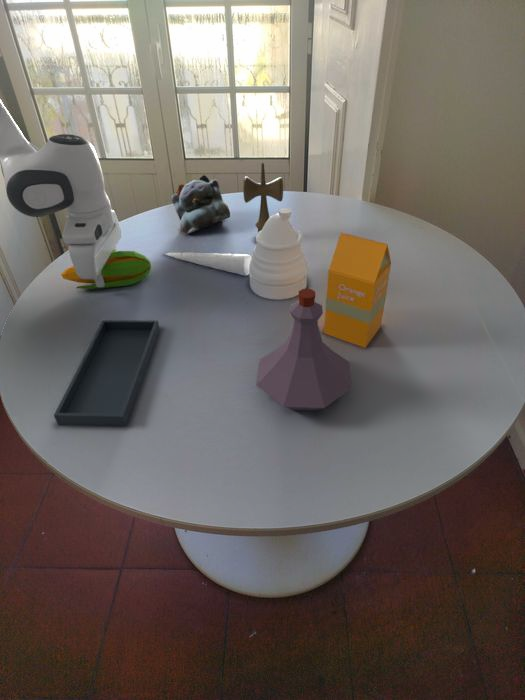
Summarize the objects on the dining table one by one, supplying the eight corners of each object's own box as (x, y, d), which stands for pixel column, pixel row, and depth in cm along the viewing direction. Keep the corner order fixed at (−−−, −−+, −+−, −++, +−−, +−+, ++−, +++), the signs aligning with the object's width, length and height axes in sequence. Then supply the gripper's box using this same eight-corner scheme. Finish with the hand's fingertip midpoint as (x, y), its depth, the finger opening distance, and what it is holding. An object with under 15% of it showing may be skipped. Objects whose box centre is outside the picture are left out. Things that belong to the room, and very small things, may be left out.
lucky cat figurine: (175, 238, 125) (158, 185, 121) (188, 235, 136) (172, 187, 133) (228, 221, 122) (211, 167, 118) (237, 220, 133) (222, 170, 129)
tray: (58, 426, 76) (53, 415, 74) (105, 330, 95) (102, 320, 93) (126, 427, 75) (122, 416, 73) (160, 330, 94) (158, 320, 93)
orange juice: (365, 349, 88) (379, 254, 75) (323, 334, 92) (329, 241, 79) (381, 327, 93) (396, 234, 80) (340, 314, 97) (349, 223, 84)
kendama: (247, 235, 125) (243, 158, 112) (283, 235, 124) (283, 158, 112) (245, 246, 120) (241, 167, 107) (283, 246, 120) (283, 167, 107)
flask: (326, 351, 88) (334, 256, 75) (369, 413, 76) (387, 312, 63) (243, 372, 84) (235, 276, 71) (274, 440, 72) (272, 339, 59)
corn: (147, 255, 102) (52, 267, 99) (153, 286, 107) (62, 298, 104) (147, 242, 108) (57, 252, 105) (153, 272, 113) (67, 283, 110)
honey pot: (318, 282, 106) (322, 205, 95) (281, 307, 99) (281, 228, 88) (275, 264, 113) (274, 190, 101) (238, 286, 106) (232, 210, 94)
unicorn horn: (174, 249, 120) (171, 231, 117) (255, 270, 111) (254, 252, 108) (163, 257, 117) (159, 239, 114) (244, 280, 108) (243, 261, 105)
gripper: (92, 198, 106) (107, 252, 115) (58, 240, 90) (78, 299, 99) (120, 197, 106) (133, 252, 114) (90, 240, 90) (107, 299, 99)
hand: (107, 275), depth 107 cm, fingers open, 7 cm apart
